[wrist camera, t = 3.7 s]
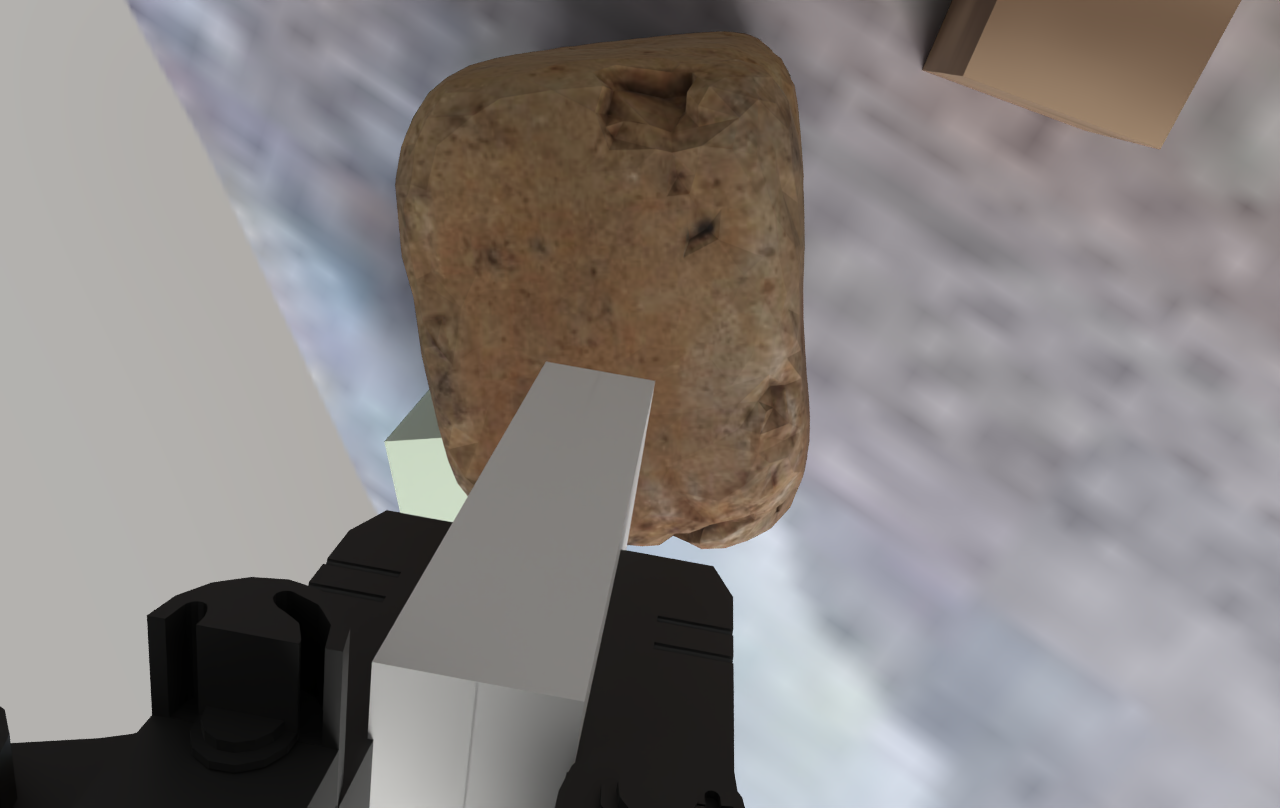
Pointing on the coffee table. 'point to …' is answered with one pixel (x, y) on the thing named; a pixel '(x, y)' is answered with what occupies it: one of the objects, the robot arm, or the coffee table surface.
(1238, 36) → the coffee table surface
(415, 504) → the green block
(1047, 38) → the walnut block
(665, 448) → the pitted sandstone rock
